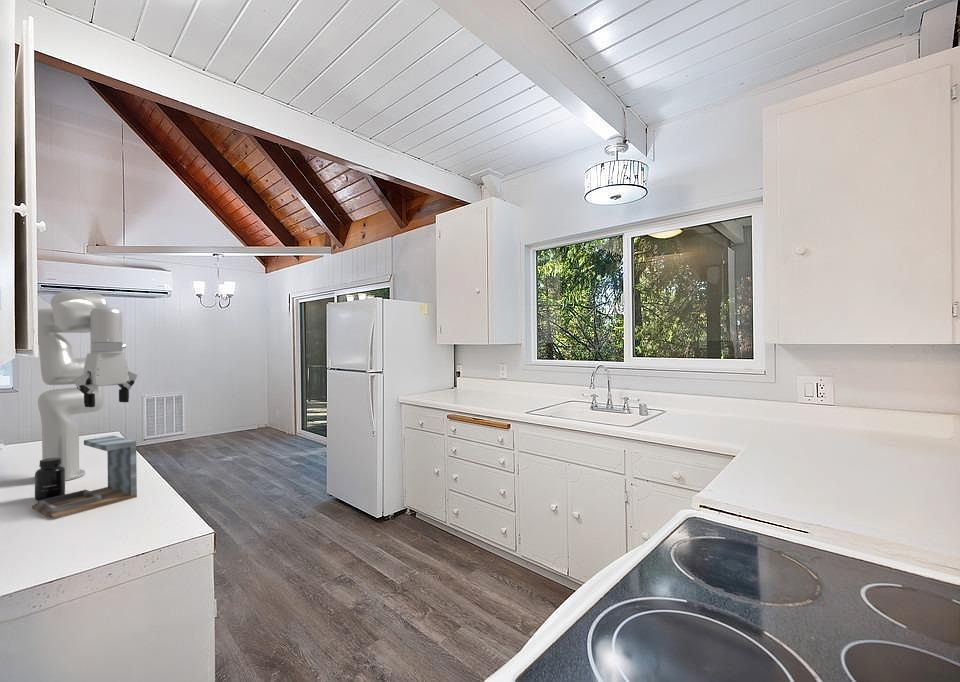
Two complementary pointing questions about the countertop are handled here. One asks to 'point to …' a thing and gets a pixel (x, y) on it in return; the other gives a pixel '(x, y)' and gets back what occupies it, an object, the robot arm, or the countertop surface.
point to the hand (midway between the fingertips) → (107, 404)
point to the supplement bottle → (49, 479)
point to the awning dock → (118, 489)
